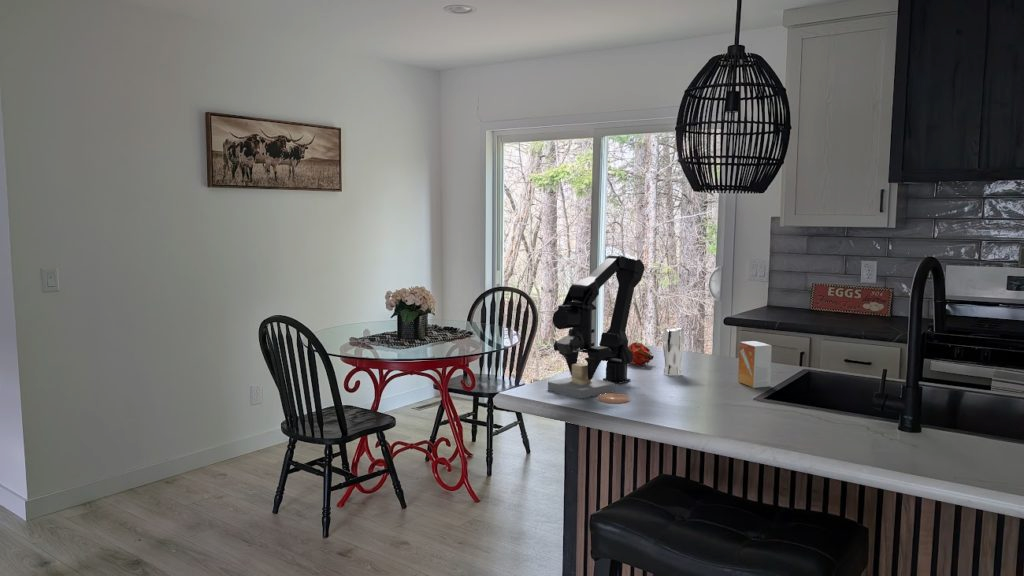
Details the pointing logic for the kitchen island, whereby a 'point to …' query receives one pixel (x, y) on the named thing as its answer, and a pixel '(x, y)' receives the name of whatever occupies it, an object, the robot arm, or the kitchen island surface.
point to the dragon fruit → (640, 354)
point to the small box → (754, 364)
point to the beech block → (580, 374)
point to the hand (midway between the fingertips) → (581, 377)
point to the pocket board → (580, 387)
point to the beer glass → (673, 350)
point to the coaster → (613, 398)
